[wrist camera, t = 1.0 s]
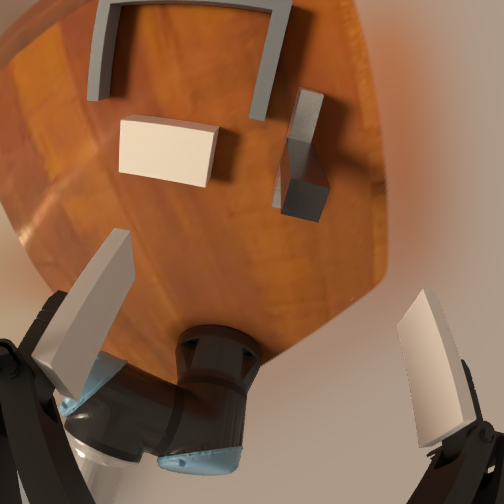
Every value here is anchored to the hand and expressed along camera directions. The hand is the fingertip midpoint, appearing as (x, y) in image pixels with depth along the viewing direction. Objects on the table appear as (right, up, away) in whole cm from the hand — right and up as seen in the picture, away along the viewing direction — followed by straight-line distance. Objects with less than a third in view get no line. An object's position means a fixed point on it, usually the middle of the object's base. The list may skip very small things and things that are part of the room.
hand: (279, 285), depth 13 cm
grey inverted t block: (+3, +13, +17) cm, 22 cm away
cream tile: (-10, +13, +18) cm, 25 cm away
